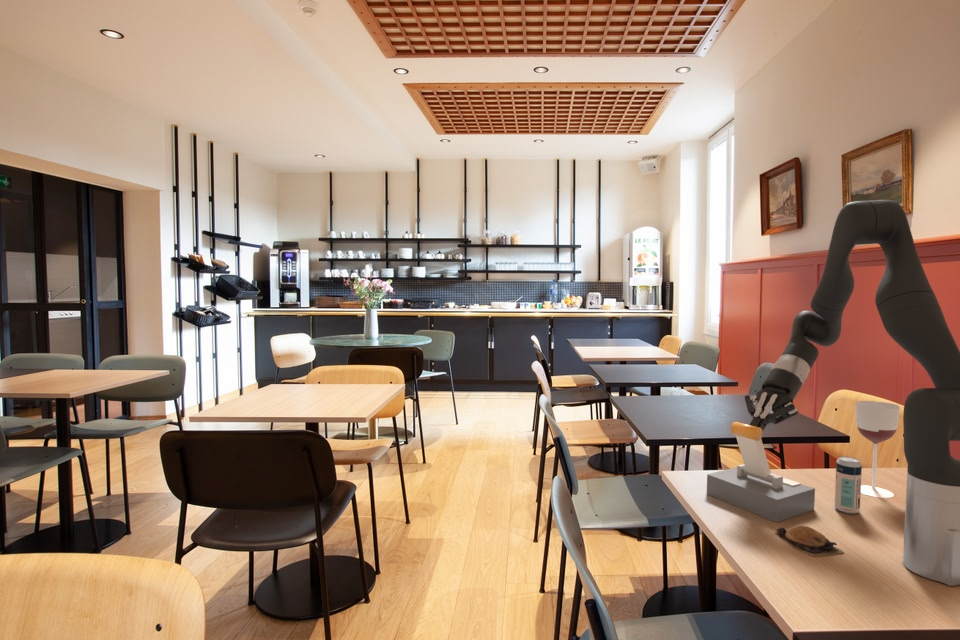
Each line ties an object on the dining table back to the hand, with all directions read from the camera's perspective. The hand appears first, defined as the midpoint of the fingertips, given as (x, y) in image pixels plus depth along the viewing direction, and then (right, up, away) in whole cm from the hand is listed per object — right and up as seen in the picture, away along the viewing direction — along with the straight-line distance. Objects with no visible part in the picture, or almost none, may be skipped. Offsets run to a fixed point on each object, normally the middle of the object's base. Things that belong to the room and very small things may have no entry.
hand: (753, 433), depth 125 cm
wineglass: (+35, -17, +9) cm, 40 cm away
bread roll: (+2, -19, -18) cm, 26 cm away
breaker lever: (+2, -10, +2) cm, 11 cm away
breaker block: (+2, -17, +2) cm, 17 cm away
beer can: (+20, -17, -3) cm, 27 cm away
